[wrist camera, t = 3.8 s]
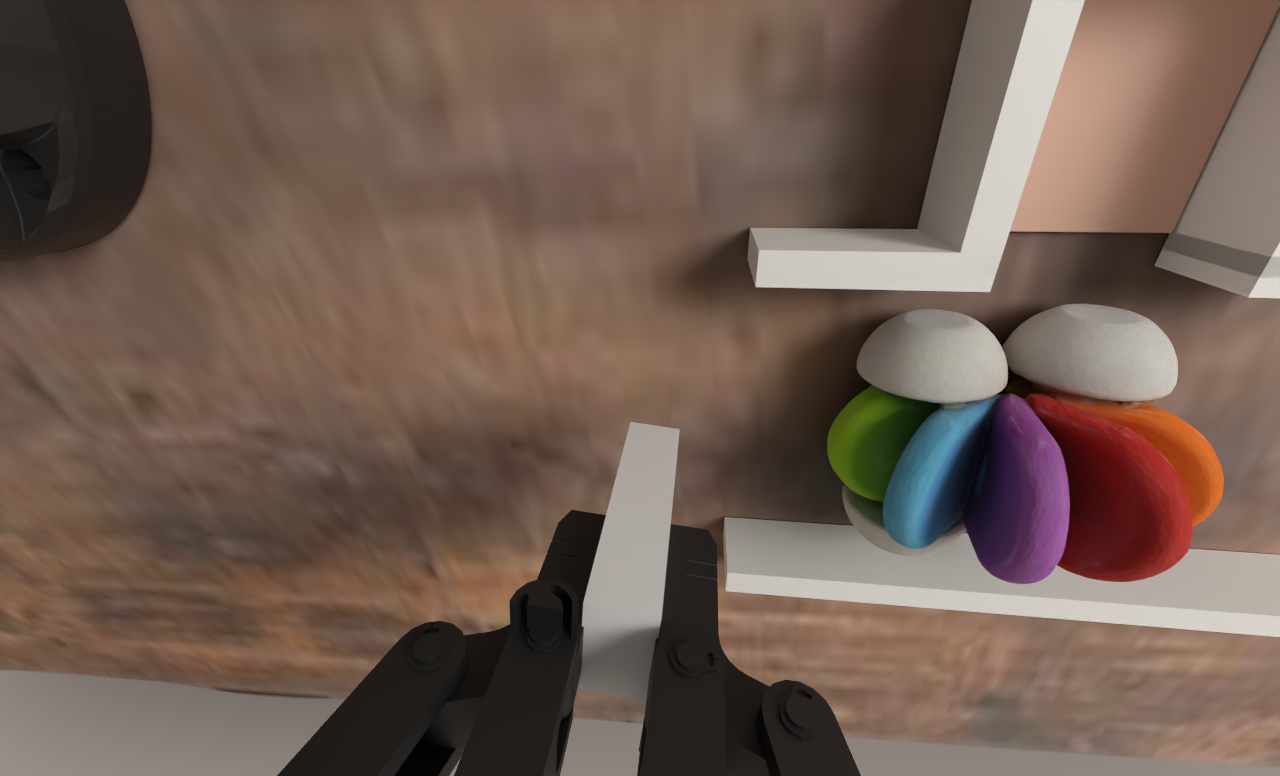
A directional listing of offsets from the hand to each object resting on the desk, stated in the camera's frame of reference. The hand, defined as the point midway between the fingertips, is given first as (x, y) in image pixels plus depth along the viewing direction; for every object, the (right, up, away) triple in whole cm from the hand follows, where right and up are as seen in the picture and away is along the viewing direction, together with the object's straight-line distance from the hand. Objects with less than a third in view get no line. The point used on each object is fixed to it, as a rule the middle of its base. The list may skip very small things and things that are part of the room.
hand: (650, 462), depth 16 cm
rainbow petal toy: (+11, +2, +3) cm, 11 cm away
